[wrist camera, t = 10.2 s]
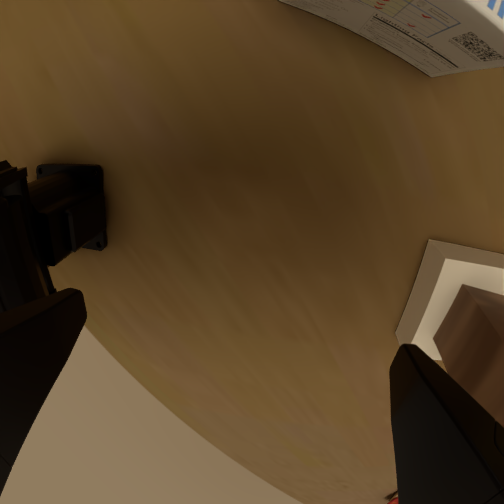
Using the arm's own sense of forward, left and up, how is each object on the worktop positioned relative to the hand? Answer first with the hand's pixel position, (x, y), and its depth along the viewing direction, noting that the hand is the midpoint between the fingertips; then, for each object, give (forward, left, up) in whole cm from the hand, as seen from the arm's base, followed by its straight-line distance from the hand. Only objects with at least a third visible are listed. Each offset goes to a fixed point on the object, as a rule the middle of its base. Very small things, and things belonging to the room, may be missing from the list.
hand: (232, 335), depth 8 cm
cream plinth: (+15, -5, -13) cm, 20 cm away
